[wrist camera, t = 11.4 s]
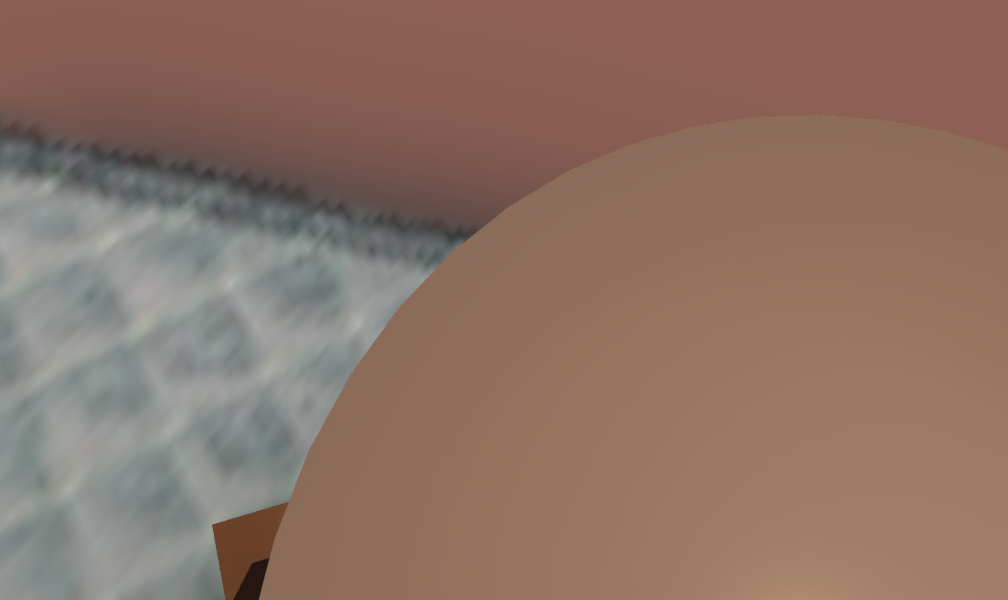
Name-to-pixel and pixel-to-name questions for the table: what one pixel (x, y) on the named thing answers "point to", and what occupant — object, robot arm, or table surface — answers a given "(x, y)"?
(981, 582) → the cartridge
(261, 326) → the table surface
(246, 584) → the robot arm
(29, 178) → the table surface
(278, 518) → the board
